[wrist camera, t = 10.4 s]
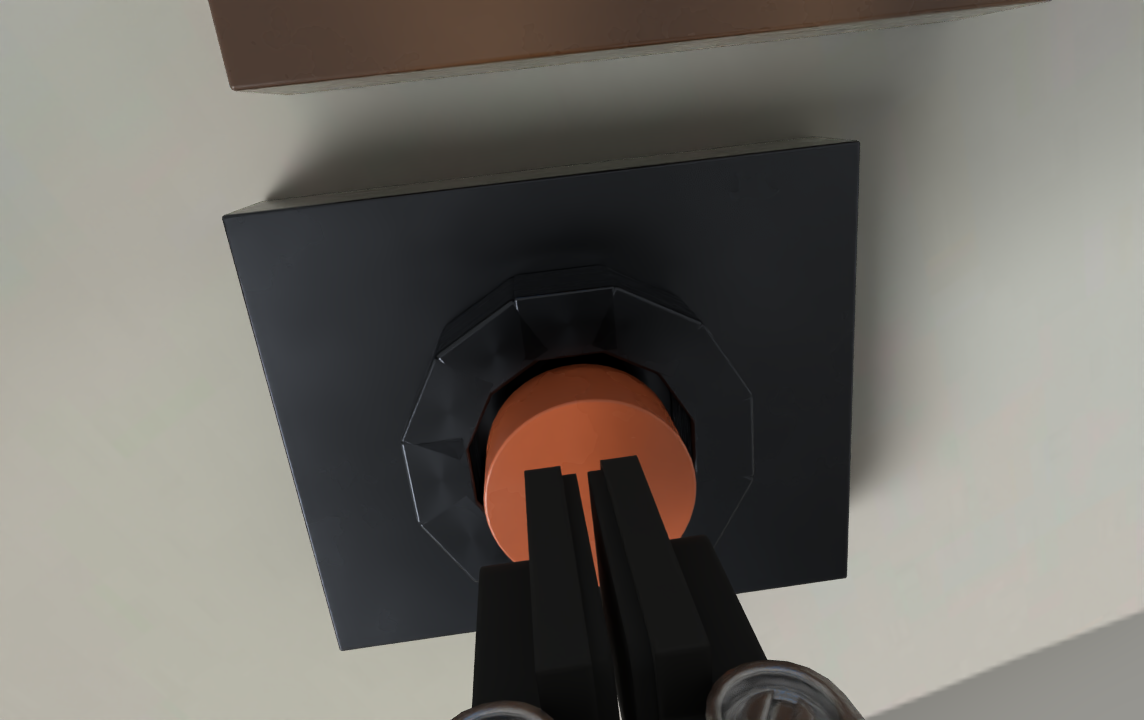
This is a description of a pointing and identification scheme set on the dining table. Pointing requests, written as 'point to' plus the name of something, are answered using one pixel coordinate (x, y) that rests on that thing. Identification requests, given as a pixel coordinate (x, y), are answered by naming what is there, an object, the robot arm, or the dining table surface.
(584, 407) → the push knob
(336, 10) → the dial panel
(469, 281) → the black button base
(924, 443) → the dining table surface
